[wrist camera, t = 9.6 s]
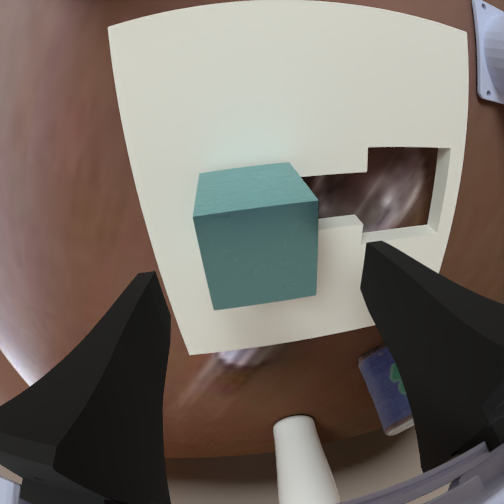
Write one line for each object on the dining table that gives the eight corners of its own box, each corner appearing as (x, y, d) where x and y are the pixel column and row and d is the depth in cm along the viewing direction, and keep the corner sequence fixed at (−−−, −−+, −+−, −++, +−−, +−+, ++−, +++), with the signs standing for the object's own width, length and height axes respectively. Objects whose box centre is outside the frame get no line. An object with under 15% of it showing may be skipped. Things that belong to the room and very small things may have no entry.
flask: (357, 367, 29) (391, 455, 20) (355, 353, 28) (393, 447, 19) (432, 334, 28) (477, 410, 19) (435, 317, 27) (485, 398, 18)
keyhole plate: (433, 32, 13) (466, 32, 10) (407, 286, 23) (425, 311, 21) (127, 34, 12) (107, 27, 9) (191, 322, 23) (189, 354, 20)
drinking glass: (270, 413, 32) (291, 529, 20) (324, 407, 33) (354, 516, 21) (263, 434, 36) (278, 534, 23) (310, 429, 37) (333, 523, 24)
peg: (278, 140, 16) (324, 193, 9) (282, 211, 19) (320, 298, 12) (198, 150, 16) (185, 212, 9) (210, 221, 18) (209, 314, 12)
